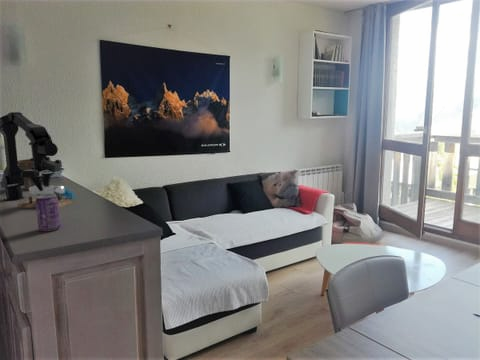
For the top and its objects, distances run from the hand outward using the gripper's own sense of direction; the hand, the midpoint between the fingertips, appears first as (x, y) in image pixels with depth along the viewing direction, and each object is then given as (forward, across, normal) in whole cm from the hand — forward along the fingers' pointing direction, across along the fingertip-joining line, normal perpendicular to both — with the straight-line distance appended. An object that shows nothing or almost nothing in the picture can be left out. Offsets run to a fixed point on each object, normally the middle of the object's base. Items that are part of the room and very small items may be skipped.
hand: (43, 189), depth 178 cm
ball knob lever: (+1, 0, -2) cm, 2 cm away
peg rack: (+7, 0, 0) cm, 7 cm away
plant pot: (+7, +40, +35) cm, 54 cm away
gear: (+7, +11, -2) cm, 14 cm away
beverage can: (+7, -36, -28) cm, 46 cm away
